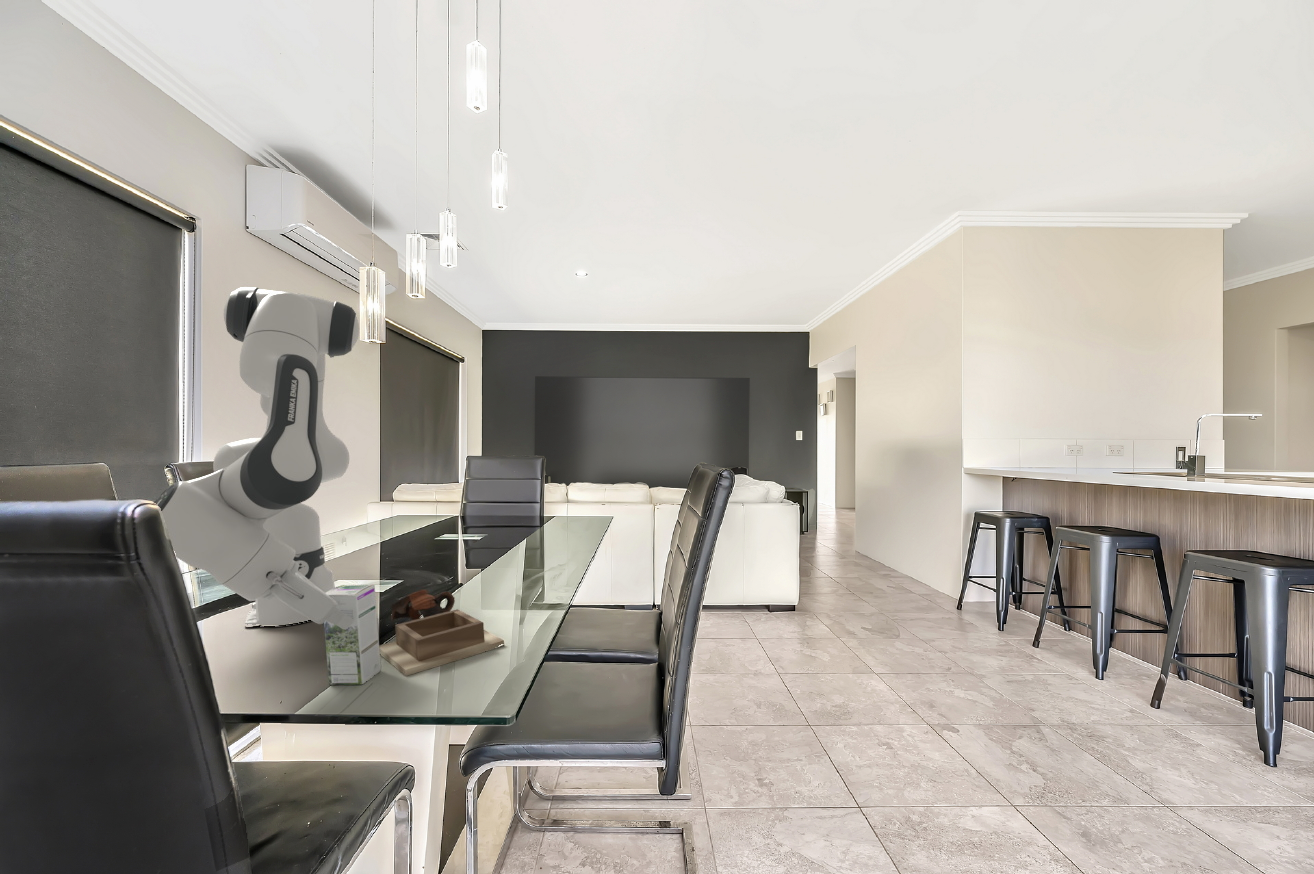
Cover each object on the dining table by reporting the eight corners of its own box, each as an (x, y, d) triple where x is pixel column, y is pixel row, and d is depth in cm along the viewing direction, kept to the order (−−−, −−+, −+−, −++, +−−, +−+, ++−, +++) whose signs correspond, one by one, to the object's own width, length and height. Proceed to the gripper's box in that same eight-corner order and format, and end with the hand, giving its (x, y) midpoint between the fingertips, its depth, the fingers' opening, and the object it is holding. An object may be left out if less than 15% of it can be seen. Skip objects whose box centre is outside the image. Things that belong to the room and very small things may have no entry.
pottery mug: (404, 642, 114) (387, 603, 116) (401, 650, 122) (384, 613, 124) (465, 612, 121) (447, 574, 123) (458, 621, 129) (442, 586, 130)
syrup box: (382, 670, 100) (376, 582, 100) (361, 686, 94) (355, 592, 94) (349, 670, 101) (343, 583, 100) (326, 686, 95) (320, 593, 94)
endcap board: (377, 651, 109) (375, 626, 109) (469, 626, 120) (467, 603, 120) (405, 676, 97) (403, 648, 97) (504, 645, 108) (502, 620, 108)
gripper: (293, 560, 83) (374, 614, 90) (268, 542, 99) (339, 589, 105) (256, 601, 80) (343, 653, 87) (237, 576, 96) (311, 621, 103)
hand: (340, 617), depth 96 cm, fingers open, 8 cm apart
